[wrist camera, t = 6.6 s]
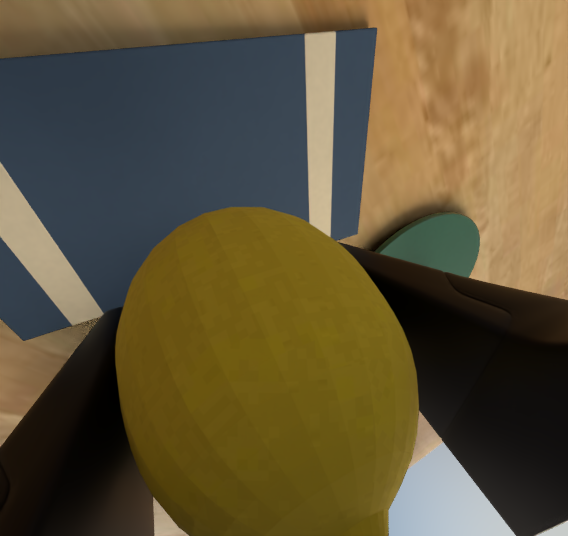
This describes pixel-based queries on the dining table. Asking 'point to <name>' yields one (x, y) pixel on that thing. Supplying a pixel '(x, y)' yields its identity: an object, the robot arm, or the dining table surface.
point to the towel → (167, 156)
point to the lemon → (265, 381)
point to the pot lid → (437, 243)
